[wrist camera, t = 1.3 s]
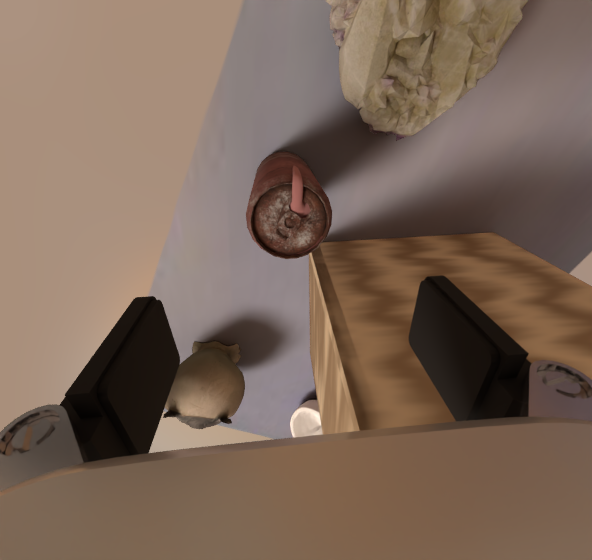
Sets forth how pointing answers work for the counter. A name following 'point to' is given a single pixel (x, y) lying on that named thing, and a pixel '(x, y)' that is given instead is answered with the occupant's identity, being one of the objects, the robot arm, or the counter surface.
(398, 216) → the counter surface
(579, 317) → the zigzag grain wooden box
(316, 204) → the can
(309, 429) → the skull bowl
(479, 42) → the geode
